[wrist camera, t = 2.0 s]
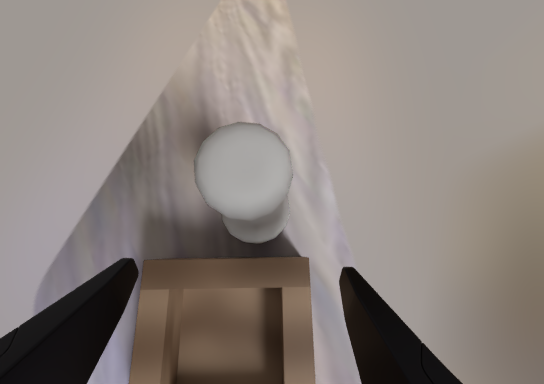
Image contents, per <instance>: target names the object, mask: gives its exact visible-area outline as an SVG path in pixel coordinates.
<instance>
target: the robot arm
mask: <svg viewBox="0 0 544 384" xmlns="http://www.w3.org/2000/svg"><path fill="white" fill-rule="evenodd" d="M138 274H139V272H138V269H137V266H136V263H135V261H134V259H132V258H122V259H120V260H119V261H117V262H116V263H114V264H113V265H111V266H110V267H108V268H107V269H105V270H104V271H102V272H100V273H99V274H97V275H96V276H94V277H93V278H91V279H90V280H88V281H87V282H85V283H84V284H82V285H81V286H79V287H78V288H76V289H75V290H73V291H72V292H70V293H69V294H67V295H66V296H64V297H63V298H61V299H60V300H58V301H57V302H55V303H54V304H52V305H50V306H49V307H47V308H46V309H44V310H43V311H41V312H40V313H38V314H37V315H35V316H34V317H32V318H31V319H29V320H28V321H26V322H25V323H23V324H22V325H20V326H19V328H16V329H14V330H13V331H11V332H9V333H8V334H6V335H5V336H3V337H2V338H0V384H87V382H88V380H89V378H90V376H91V374H92V372H93V371H94V369H95V367H96V365H97V363H98V361H99V359H100V357H101V355H102V353H103V351H104V349H105V347H106V345H107V343H108V342H109V340H110V338H111V336H112V334H113V332H114V330H115V328H116V326H117V324H118V322H119V320H120V318H121V316H122V314H123V312H124V310H125V308H126V305H127V303H128V300H129V298H130V295H131V293H132V290H133V288H134V285H135V283H136V280H137V278H138ZM339 285H340V291H341V298H342V304H343V311H344V317H345V322H346V326H347V330H348V334H349V337H350V341H351V345H352V349H353V352H354V356H355V360H356V364H357V367H358V371H359V375H360V379H361V382H362V384H463V383H461V382H460V381H459V380H458V379H457V378H456V377H455V376H454V375H453V374H452V373H451V372H450V371H449V370H448V369H447V368H446V367H445V366H444V365H443V364H442V362H440V360H439V359H438V358H437V357H436V356H435V355H434V354H433V353H432V352H431V351H430V350H429V349H428V348H427V347H426V345H425V344H424V343H422V342H421V340H420V339H419V338H418V337H417V336H416V335H415V334H414V333H413V331H412V330H411V329H410V328H409V327H408V326H407V325H406V324H405V323H404V322H403V321H402V320H401V318H400V317H399V316H398V315H397V314H396V313H395V312H394V311H393V310H392V309H391V308H390V307H389V305H388V304H387V303H386V302H385V301H384V300H383V299H382V298H381V297H380V296H379V295H378V293H377V292H376V291H375V290H374V289H373V288H372V287H371V286H370V285H369V284H368V283H367V281H366V280H365V279H364V278H363V277H362V276H361V275H360V274H359V273H358V272H357V271H356V270H355V269H354V268H353V267H343V269H342V272H341V276H340V279H339Z"/></svg>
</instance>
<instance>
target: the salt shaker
mask: <svg viewBox="0 0 544 384" xmlns="http://www.w3.org/2000/svg"><path fill="white" fill-rule="evenodd" d="M194 171H195V183H196V185H197V187H198V189H199V191H200V192H201V194H202V196H203V198H204V199H205V201H206V203H207V205H208V206H210V207H211V208H213V209H215V210H216V211H218V212H220V213H221V214H222V221H223V222H224V224H225V226H226V228H227V229H228V231H229V233H230V234H231V235H233V236H234V237H236V238H238V239H239V240H241V241H243V242H246V243H255V244H261V243H263V242H266V241H269V240H271V239H274V238H275V237H276V236H277V235H278V234H279V233H280V232H281V231H282V230H283V229H284V228H285V227H286V224H287V221H288V217H289V214H290V207H289V200H288V196H287V194H288V191H289V188H290V185H291V181H292V178H293V170H292V163H291V157H290V151H289V149H288V148H287V146H286V145H285V144H284V142H283V141H282V140H281V138H280V137H279V136H278V134H277V133H275V132H273V131H271V130H270V129H268V128H266V127H264V126H263V125H261V124H257V123H245V122H237V123H233V124H230V125H227V126H224V127H220V128H218V129H217V130H216V131H215V132H213V133H212V134H211V135H210V136H209V137H208V138H207V139H205V140H204V141H203V142H202V145H201V147H200V149H199V151H198V153H197V155H196V157H195V160H194Z"/></svg>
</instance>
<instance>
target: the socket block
mask: <svg viewBox="0 0 544 384" xmlns="http://www.w3.org/2000/svg"><path fill="white" fill-rule="evenodd" d="M129 384H315V366H314V347H313V328H312V309H311V291H310V272H309V258H307V257H236V258H169V259H154V260H144V264H143V273H142V281H141V289H140V297H139V305H138V313H137V321H136V330H135V338H134V346H133V354H132V362H131V370H130V378H129Z"/></svg>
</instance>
